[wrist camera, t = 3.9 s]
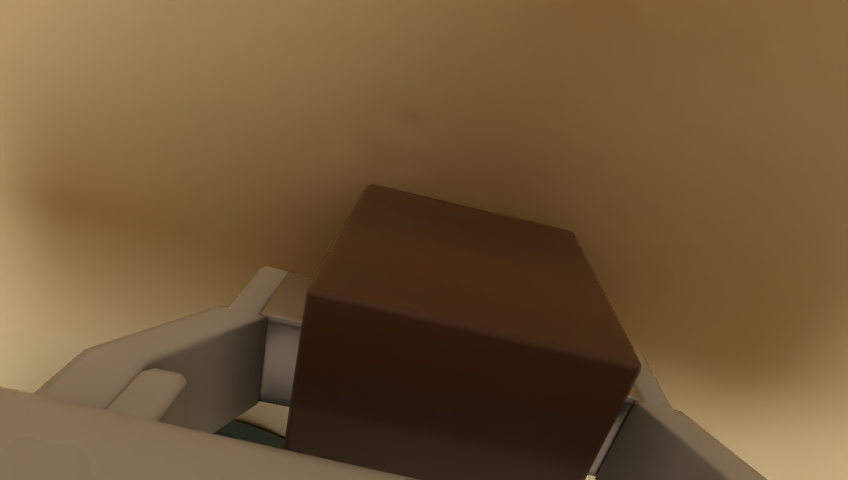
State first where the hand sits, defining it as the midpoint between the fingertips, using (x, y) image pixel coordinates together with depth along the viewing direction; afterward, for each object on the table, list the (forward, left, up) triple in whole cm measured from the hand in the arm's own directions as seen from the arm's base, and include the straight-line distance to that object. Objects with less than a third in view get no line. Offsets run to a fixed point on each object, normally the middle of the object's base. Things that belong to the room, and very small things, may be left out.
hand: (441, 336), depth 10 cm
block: (0, 0, -2) cm, 2 cm away
